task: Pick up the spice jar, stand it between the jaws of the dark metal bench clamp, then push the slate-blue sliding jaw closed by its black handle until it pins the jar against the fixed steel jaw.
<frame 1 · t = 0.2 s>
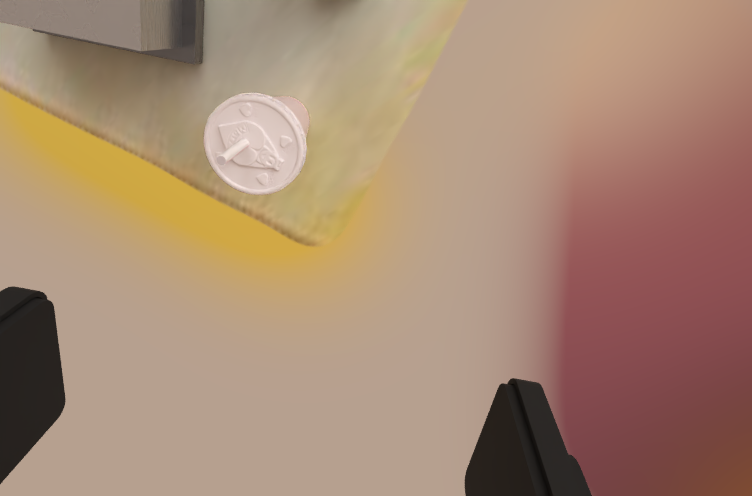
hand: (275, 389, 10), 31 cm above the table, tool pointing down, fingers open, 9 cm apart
smoothie: (287, 119, 39), on the table
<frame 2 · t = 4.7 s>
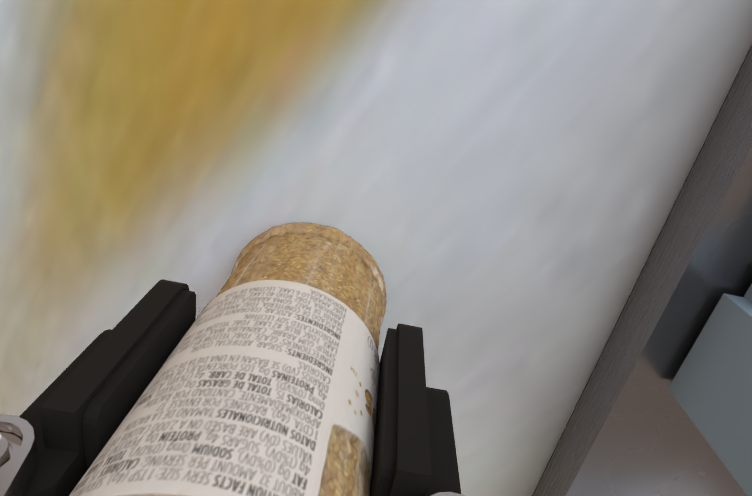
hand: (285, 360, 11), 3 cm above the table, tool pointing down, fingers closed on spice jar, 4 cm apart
spice jar: (311, 284, 14), on the table, touching gripper
clamp base: (731, 469, 16), on the table
when the fingers open (6 cm above the table, at t = 10.2 s): spice jar stays where it is, resting on clamp base.
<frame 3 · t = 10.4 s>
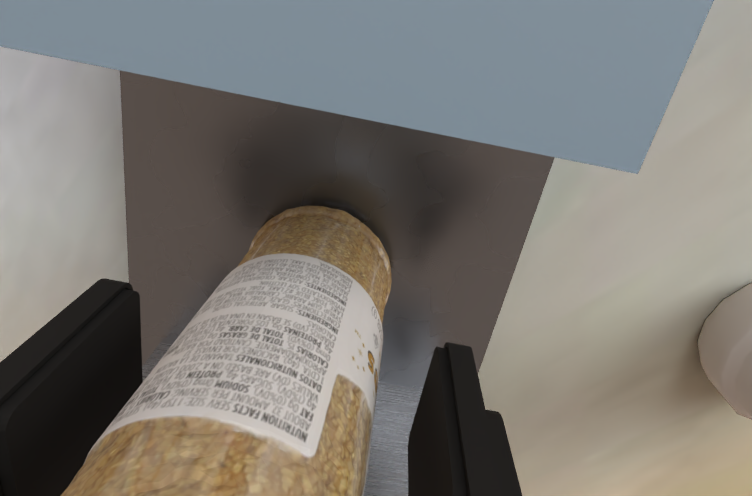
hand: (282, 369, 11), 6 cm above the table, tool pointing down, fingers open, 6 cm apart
spice jar: (322, 264, 15), point 1 cm above the table, touching clamp base
clamp base: (332, 194, 15), on the table
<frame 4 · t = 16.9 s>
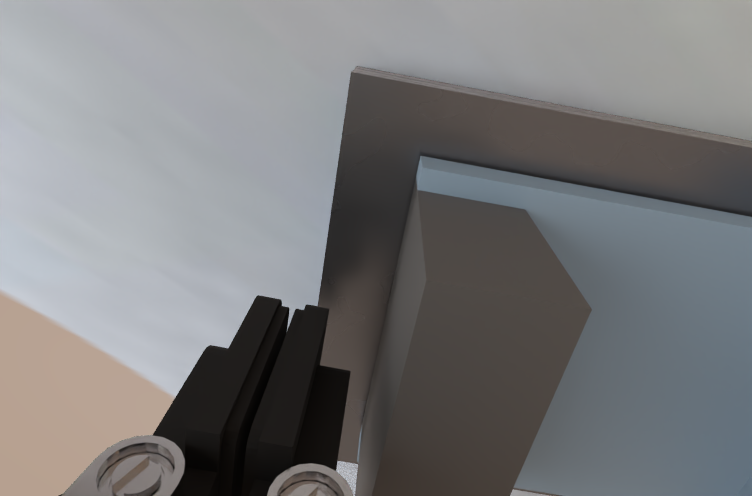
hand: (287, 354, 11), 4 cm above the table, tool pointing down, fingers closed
sliding jaw: (695, 447, 10), point 5 cm above the table, slide at 0.9 cm, touching gripper
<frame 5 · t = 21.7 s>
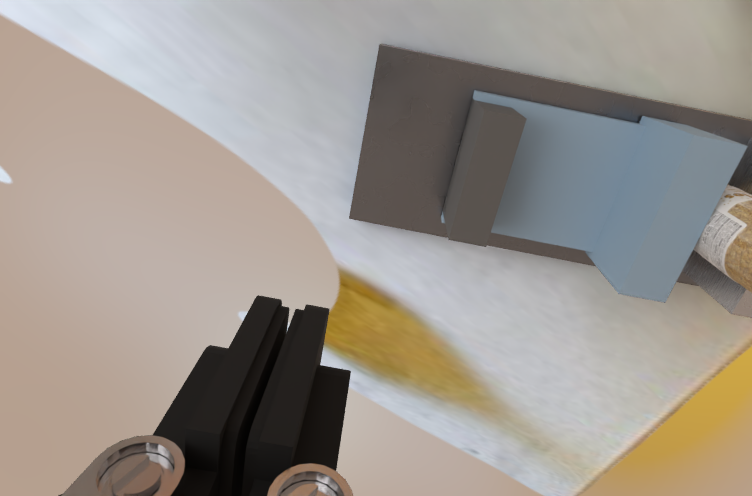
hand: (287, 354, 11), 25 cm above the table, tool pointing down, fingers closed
sliding jaw: (569, 190, 30), point 5 cm above the table, slide at 5.5 cm
spice jar: (681, 198, 33), point 1 cm above the table, touching clamp base
clamp base: (622, 185, 34), on the table
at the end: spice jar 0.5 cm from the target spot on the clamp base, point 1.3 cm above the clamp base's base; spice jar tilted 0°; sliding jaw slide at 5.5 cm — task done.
